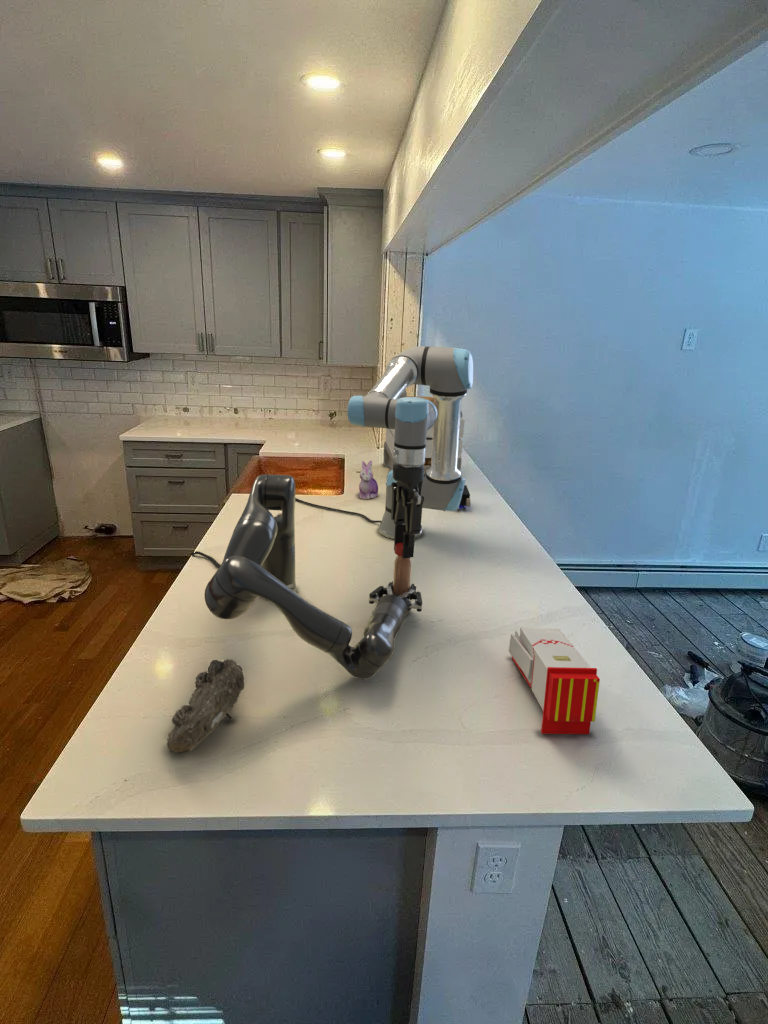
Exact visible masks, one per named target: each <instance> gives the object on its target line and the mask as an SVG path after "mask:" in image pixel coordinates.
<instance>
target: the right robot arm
mask: <svg viewBox="0 0 768 1024" xmlns="http://www.w3.org/2000/svg"><path fill="white" fill-rule="evenodd" d="M473 360H474V359H473V355H472V353H471V352H470V350H469V349H465V348H459V347H458V348H457V347H447V346H446V347H445V346H426V345H420V346H413V347H411V348H407V349H406V350H403V351H400V352H399V353H398V354H396V355H395V356H393V357H392V358H391V359H390V361H389V362H388V363H387V365H386V370H385V372H384V373H383V374H382V375H381V377H380V378H379V379H378V381H376V383H375V384H374V385H373V386H372V388H371V389H370V390H369V391H368V392H367V394H366V395H363V394H362V395H361V394H360V395H352V396H351V397H350V399H349V401H348V404H347V420H348V422H349V423H350V424H351V425H353V426H358V427H363V428H365V427H367V428H379V429H386V428H388V429H395V440H394V451H393V455H394V462H395V463H394V464H393V470H391V471H390V470H389V472H388V473H387V475H386V482H385V504H384V505H385V507H384V508H385V509H384V513H383V515H382V519H381V520H372V519H370V518H369V517H367V515H364V514H363V513H359V512H355V511H349V510H345V509H344V510H343V509H340V508H339V509H338V508H334V507H328V506H325V505H320V504H316V503H312V502H308V501H304V500H301V499H300V498H296V497H295V501H297V502H299V503H302V504H306V505H308V506H312V507H316V508H319V509H320V508H321V509H325V510H330V511H335V512H340V513H346V514H351V515H357V516H360V517H362V518H364V519H365V520H366V521H368V522H370V523H377V524H378V523H379V525H378V533H379V534H380V535H381V536H382V537H385V538H387V539H389V540H393V541H394V542H393V550H394V551H395V545H396V544H397V543H402V542H403V554H402V557H403V558H410V559H411V558H414V555H415V539H418V538H420V537H421V536H422V535H423V525H422V517H423V509H428V510H436V511H443V512H456V511H458V510H457V509H459V505H460V501H461V498H462V494H463V490H464V485H466V479H465V478H464V477H462V471H461V472H460V471H459V470H458V469H457V458H458V443H459V429H460V414H461V412H462V401H463V400H462V399H463V398H464V397H466V396H467V394H468V390H469V389H470V390H471V389H472V388H473V384H474V361H473ZM413 385H418V386H427V387H429V394H430V395H431V397H434V404H433V403H432V402H431V401H429V400H426V399H423V398H418V397H419V396H418V397H417V396H415V397H404V398H400V396H401V395H402V393H403V392H404V391H405V390H406V389H407V388H410V387H412V386H413ZM399 398H400V399H399ZM432 426H433V434H432V456H431V465H430V466H429V468H427V470H426V471H425V466H424V465H423V464H424V463H425V452H426V435H427V430H428V429H430V428H431V427H432Z"/></svg>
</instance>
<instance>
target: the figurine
mask: <svg viewBox="0 0 768 1024" xmlns="http://www.w3.org/2000/svg"><path fill="white" fill-rule="evenodd" d="M372 466H373V460H369V461H368V463H367V464H366V462H365V461H364V460H362V461H361V471H360V472H359V478H360V482H359V484H358V490H359V492H358V497H359V499H363V500H369V499H374V498H377V497H378V493H379V485H378V481H377V480H376V478H374V473H373V471H372Z"/></svg>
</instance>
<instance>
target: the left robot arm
mask: <svg viewBox="0 0 768 1024" xmlns="http://www.w3.org/2000/svg"><path fill="white" fill-rule="evenodd" d="M296 489H297V487H296V481H295V478H294V477H293V475H289V474H270V473H269V474H267V473H266V474H259V475H258V476H257V477H256V478H254V480H253V483H252V486H251V488H250V491H249V495H248V499H247V503H246V504H245V507H244V510H243V511H242V513H241V515H240V518H239V519H238V521H237V523H236V524H235V527H234V529H233V532H232V534H231V537H230V540H229V542H228V545H227V547H226V550H225V554H224V556H223V559H222V562H221V564H220V563H219V562H217V560H216V559H215V558H213V557H212V556H211V555H208V554H206V553H204V552H201V551H199V550H198V551H196V552H195V551H193V552H191V553H190V554H189V555H190V556H194V555H199V556H202V557H204V558H206V559H208V560H210V561H211V562H212V563H213V564H214V565H215V566H216V567H218V569H216V571H215V573H214V574H213V575H212V577H211V578H210V580H209V581H208V583H207V584H206V587H205V589H204V601H205V605H206V607H207V609H208V610H209V612H210V613H211V614H212V615H213V616H215V617H216V618H218V619H221V620H234V619H237V618H240V617H241V616H242V615H244V614H245V613H246V612H247V611H248V610H249V609H250V607H251V606H252V605H253V603H254V602H255V601H256V600H257V598H258V597H259V598H261V599H264V600H265V601H268V602H269V603H270V604H272V605H274V606H275V607H276V608H277V609H278V610H279V612H281V614H282V615H283V616H284V618H285V620H286V621H287V622H288V624H289V625H290V627H291V629H292V631H294V633H295V634H296V635H297V636H298V637H299V638H300V639H301V640H302V641H304V642H305V643H307V644H308V645H310V646H312V647H314V648H316V649H318V650H319V651H322V652H324V653H325V654H328V655H329V656H330V657H331V658H332V659H333V660H335V661H336V662H337V663H338V664H339V665H340V666H341V667H342V668H343V669H344V670H345V671H346V672H348V673H349V674H350V675H351V676H353V677H354V678H356V679H359V680H369V679H371V678H372V677H374V676H375V675H376V674H377V673H378V672H379V671H380V670H381V669H382V668H383V667H384V666H385V665H386V664H387V663H388V661H389V660H391V658H392V656H393V654H394V653H395V647H396V646H395V642H396V641H395V640H396V637H397V635H398V633H399V632H400V630H401V629H402V627H403V624H404V622H405V619H406V617H407V615H408V614H409V613H408V611H409V612H410V611H411V610H416V611H417V612H419V613H421V612H422V611H423V598H422V593H421V591H417V585H415V584H416V583H411V584H410V589H409V591H408V592H407V591H406V592H404V593H403V594H402V595H401V594H395V593H392V591H393V580H392V581H390V582H388V585H387V586H386V587H384V585H379V586H378V587H376V588H375V589H373V590H372V591H371V592H369V597H368V604H369V605H373V604H375V603H376V605H375V607H374V609H373V610H372V612H371V615H370V618H369V620H368V622H367V624H366V626H365V628H364V632H363V637H362V638H361V639H360V640H359V641H358V642H357V644H356V645H355V646H352V645H350V643H351V640H352V638H353V630H352V628H351V626H350V625H349V624H347V623H345V622H344V621H343V620H340V619H338V618H336V617H334V616H333V615H331V614H330V613H327V612H325V611H324V610H322V609H320V608H318V607H317V606H315V605H313V604H312V603H310V602H309V601H307V600H306V599H304V598H303V597H302V596H301V595H299V594H298V592H296V591H297V587H296V586H297V585H296V526H295V525H296V524H295V521H296V520H295V519H296V516H295V515H296V514H295V513H296V512H295V511H296V500H295V498H296V492H297V491H296ZM270 511H281V513H279V515H278V514H277V515H278V516H277V515H276V516H274V515H273V514H272V512H270ZM194 552H195V553H194ZM412 602H413V603H412ZM407 613H408V614H407Z"/></svg>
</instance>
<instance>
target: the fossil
mask: <svg viewBox="0 0 768 1024" xmlns="http://www.w3.org/2000/svg"><path fill="white" fill-rule="evenodd" d="M243 670H244V669H243V667H242V665H240V664H237V662H236V661H235V660H234V659H232V658H231V659H227V658H226V659H224V660H223V661H222V660H217V659H212V660H211V661H210V663H209V665H208V666H207V671H201V672H199V673H198V674H197V675H196V676H195V680H194V684H195V685H194V687H195V689H194V690H193V693H192V694H191V697H190V698H189V700H188V704H184V705H182V706H181V707H180V709H177V710H176V711H175V713H174V715H173V716H172V718H171V723H172V724H173V727H172V730H171V731H170V732H168V734H167V738H166V741H167V742H166V745H167V749H168V750H169V751H173V752H174V753H176V754H178V753H182V752H188V751H189V752H192V751H193V750H195V748H196V747H197V746H199V744H200V743H201V742H203V741H204V740H205V739H206V738H207V737H208V736H209V735H210V734H211V733H212V732H214V730H215V729H217V727H218V726H219V724H220V722H221V721H222V720H223V719H224V718H225V716H226V717H227V719H229V720H233V717H232V715H230V714H229V710H230V709H231V708H234V706H235V704H236V703H237V702H238V699H239V697H240V695H241V693H242V691H243V690H245V689H244V688H245V675H244V671H243Z"/></svg>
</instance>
